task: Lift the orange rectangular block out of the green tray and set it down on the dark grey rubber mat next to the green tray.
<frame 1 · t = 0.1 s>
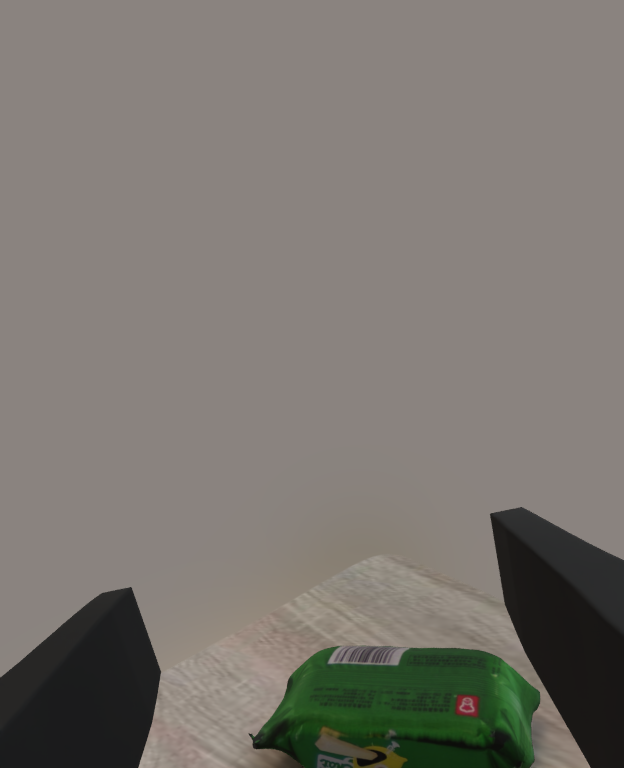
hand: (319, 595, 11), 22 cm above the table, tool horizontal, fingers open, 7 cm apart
snack package: (403, 755, 34), on the table
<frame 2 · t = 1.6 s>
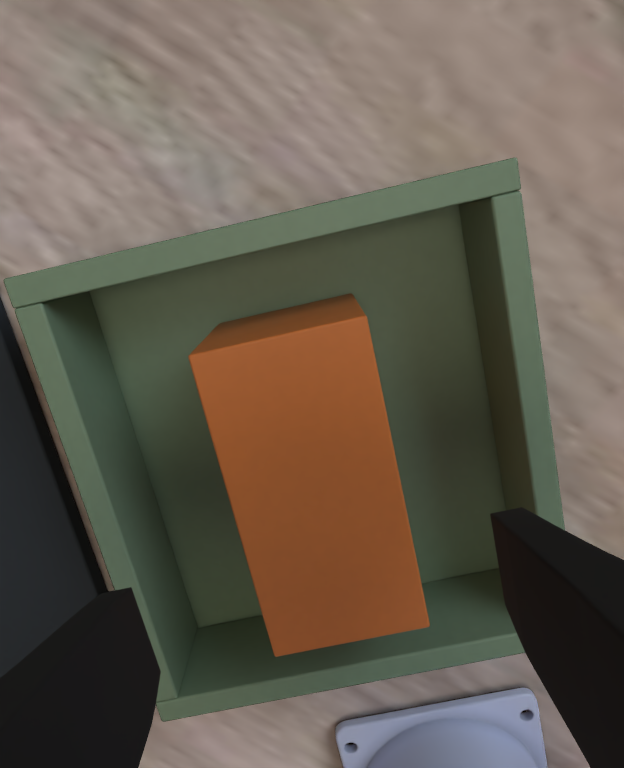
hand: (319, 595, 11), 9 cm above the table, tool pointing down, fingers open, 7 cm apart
green tray: (315, 432, 21), on the table
orange rectangular block: (315, 435, 20), resting on green tray
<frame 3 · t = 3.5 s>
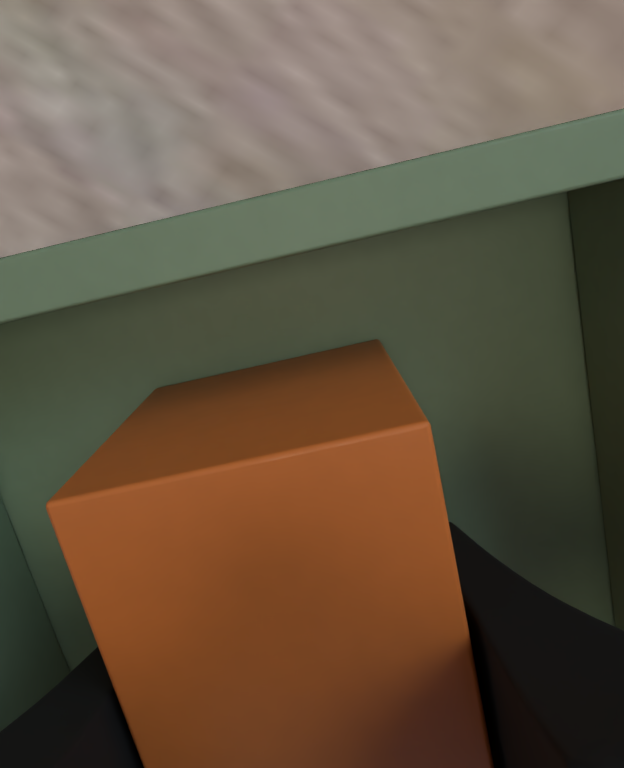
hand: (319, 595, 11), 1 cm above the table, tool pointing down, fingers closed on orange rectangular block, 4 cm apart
green tray: (318, 556, 13), on the table
orange rectangular block: (316, 564, 13), resting on green tray, touching gripper
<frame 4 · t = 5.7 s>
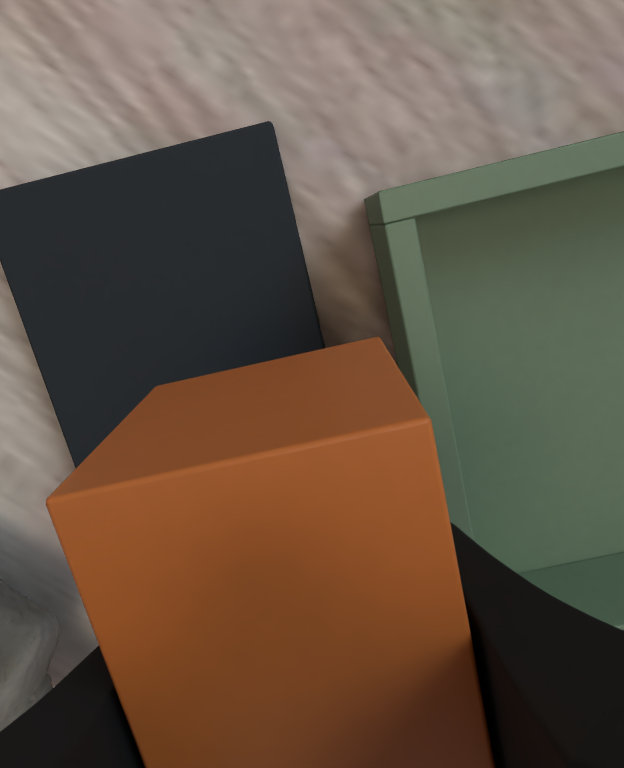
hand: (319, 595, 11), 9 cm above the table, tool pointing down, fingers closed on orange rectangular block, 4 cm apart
mat: (217, 460, 20), on the table
green tray: (609, 374, 20), on the table
orange rectangular block: (316, 562, 13), point 8 cm above the table, touching gripper
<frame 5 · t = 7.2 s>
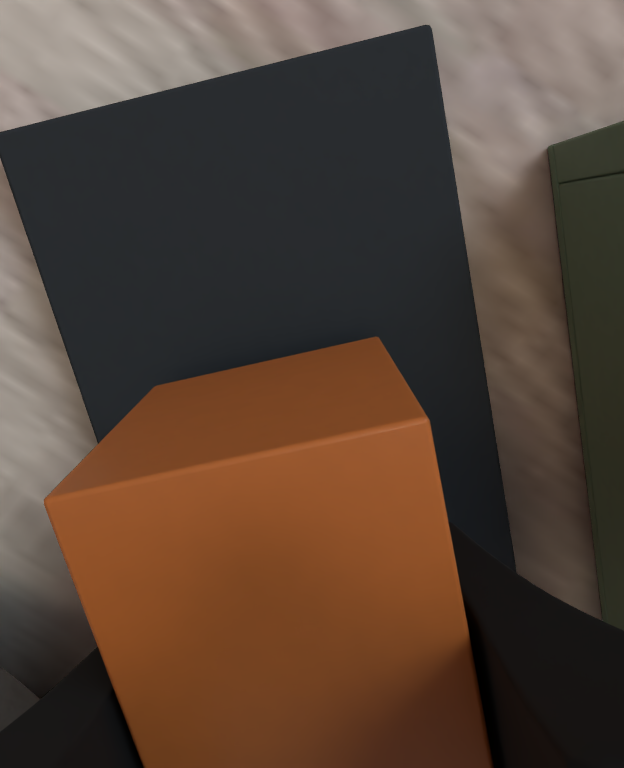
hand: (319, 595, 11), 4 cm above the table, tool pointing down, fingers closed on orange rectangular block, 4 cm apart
mat: (317, 511, 15), on the table
orange rectangular block: (315, 561, 13), point 2 cm above the table, touching gripper
when the fingers open (2 cm above the table, at t = 8.2 s): orange rectangular block stays where it is, resting on mat.
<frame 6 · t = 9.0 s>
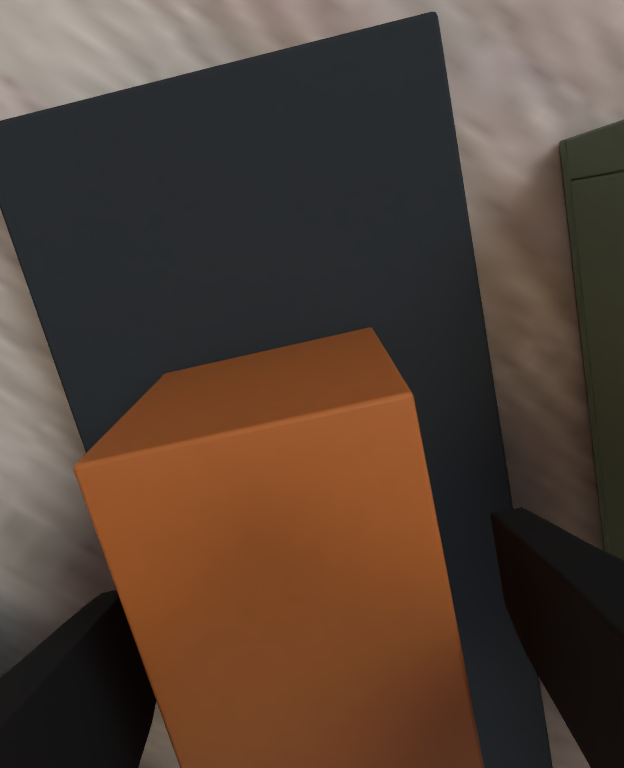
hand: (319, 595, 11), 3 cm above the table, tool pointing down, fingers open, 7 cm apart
mat: (316, 523, 14), on the table
orange rectangular block: (314, 538, 13), point 1 cm above the table, touching mat
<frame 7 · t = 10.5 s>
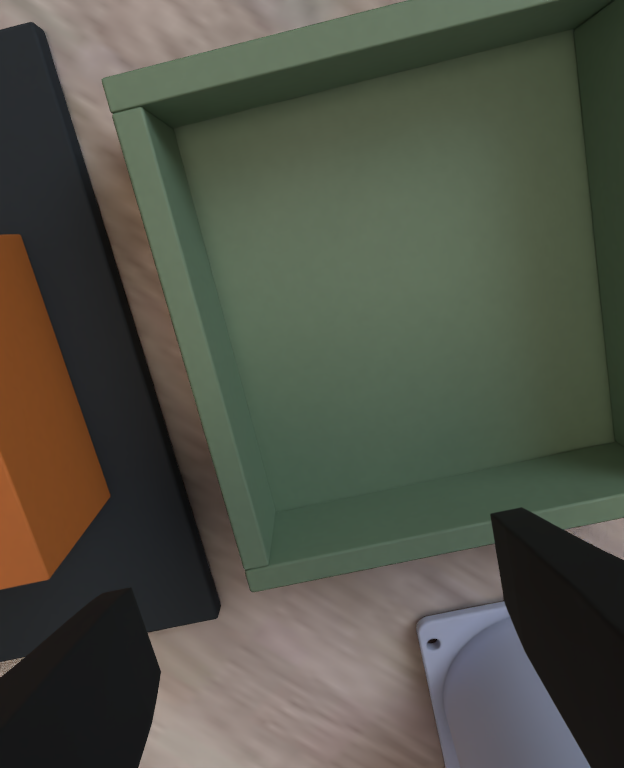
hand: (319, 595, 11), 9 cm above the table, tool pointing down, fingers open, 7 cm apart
mat: (17, 382, 20), on the table
green tray: (407, 294, 19), on the table
orange rectangular block: (3, 387, 19), point 1 cm above the table, touching mat
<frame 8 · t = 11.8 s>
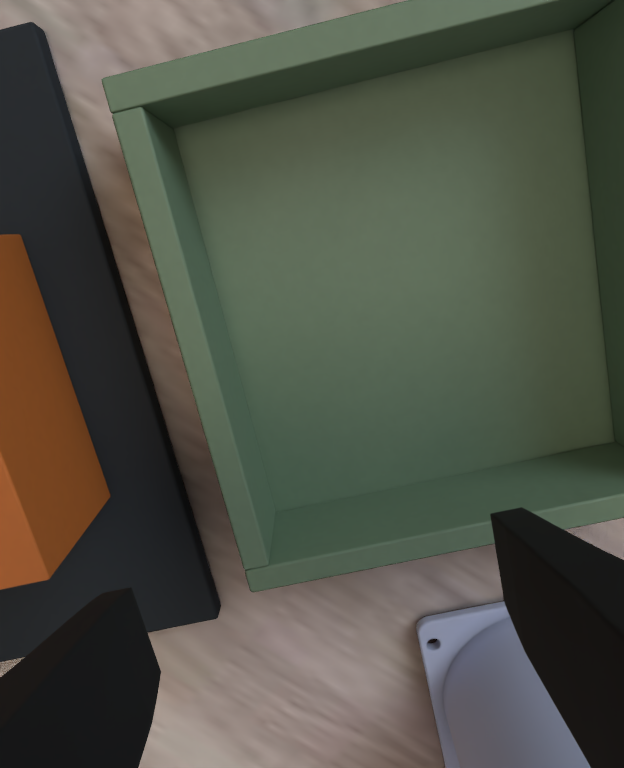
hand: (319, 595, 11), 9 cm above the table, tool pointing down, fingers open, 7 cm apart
mat: (17, 382, 20), on the table
green tray: (407, 294, 19), on the table
orange rectangular block: (3, 387, 19), point 1 cm above the table, touching mat
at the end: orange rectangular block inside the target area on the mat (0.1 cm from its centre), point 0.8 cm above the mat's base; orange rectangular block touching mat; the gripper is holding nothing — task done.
